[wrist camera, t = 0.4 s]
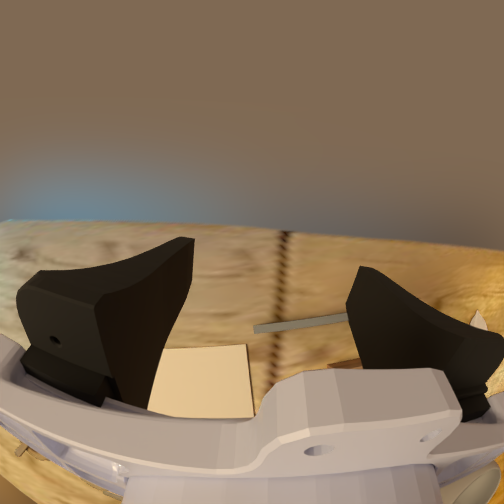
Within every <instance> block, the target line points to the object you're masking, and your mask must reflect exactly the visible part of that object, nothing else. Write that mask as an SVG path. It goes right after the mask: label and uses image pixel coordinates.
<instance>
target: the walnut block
mask: <svg viewBox="0 0 504 504" xmlns="http://www.w3.org/2000/svg"><path fill="white" fill-rule="evenodd" d="M327 368H339V369H363V367H362V363H361V359H360V358H357V359H353V360H348V361H343V362H338V363H333V364H327Z"/></svg>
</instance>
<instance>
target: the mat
mask: <svg viewBox="0 0 504 504" xmlns="http://www.w3.org/2000/svg"><path fill="white" fill-rule="evenodd" d="M147 410H149V411H153V412H156V413H160V414H164V415H168V416H172V417H186V418H248V417H254V412H253V404H252V395H251V386H250V378H249V369H248V360H247V351H246V344H240V345H228V346H215V347H198V348H173V349H163V352H162V356H161V359H160V362H159V365H158V369H157V372H156V376H155V380H154V383H153V387H152V391H151V395H150V400H149V404H148V409H147Z"/></svg>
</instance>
